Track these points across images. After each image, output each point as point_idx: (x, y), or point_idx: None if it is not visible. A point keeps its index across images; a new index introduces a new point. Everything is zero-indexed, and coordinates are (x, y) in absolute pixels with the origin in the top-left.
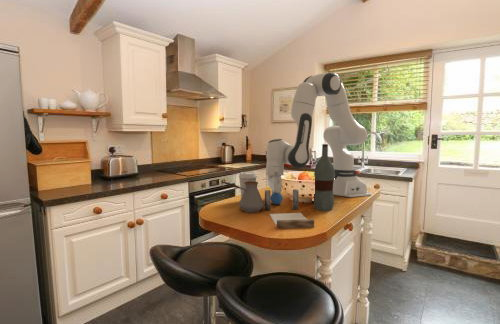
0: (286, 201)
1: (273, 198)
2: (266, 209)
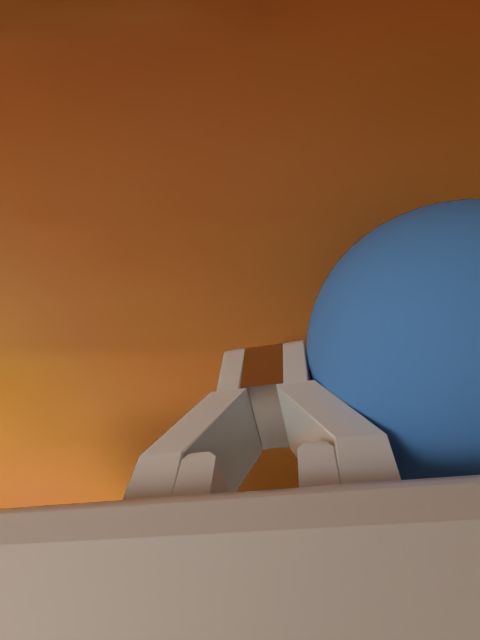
0: (181, 72)
1: None
2: None
